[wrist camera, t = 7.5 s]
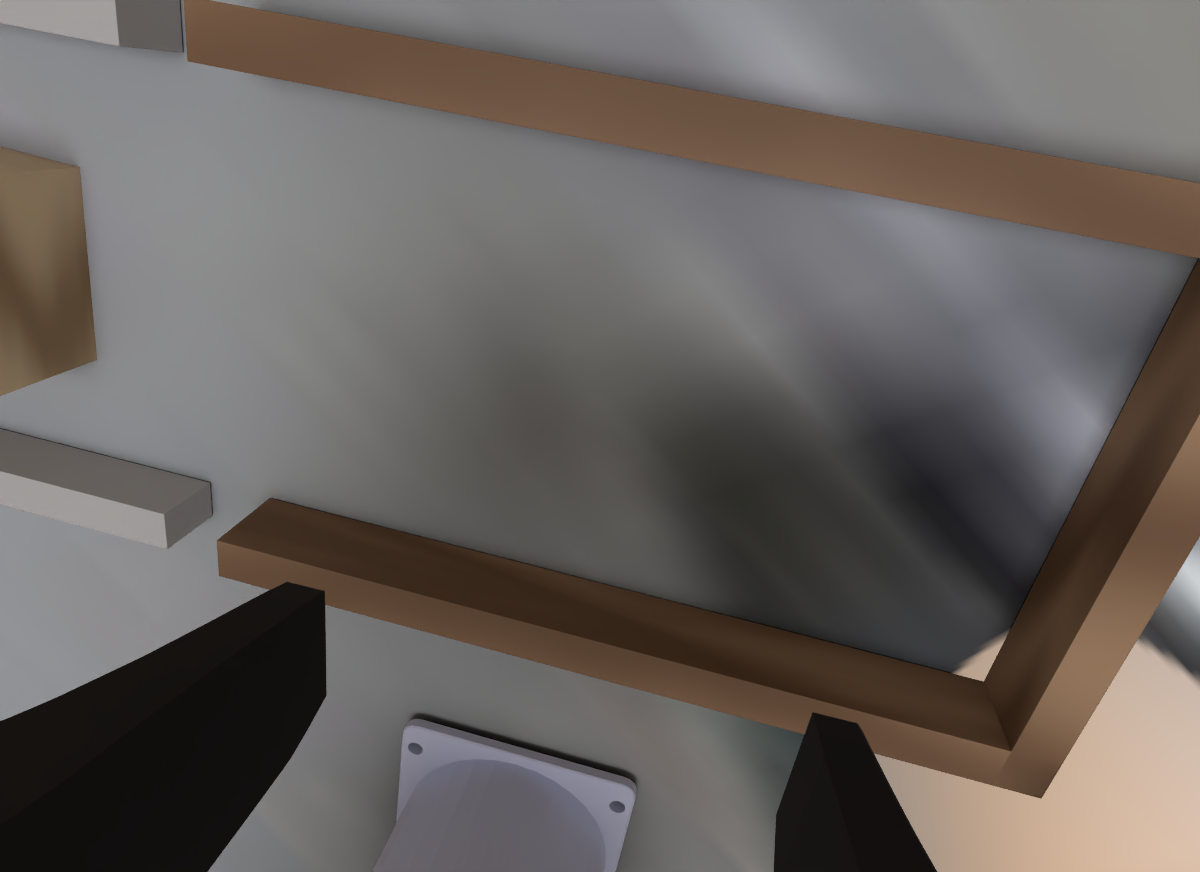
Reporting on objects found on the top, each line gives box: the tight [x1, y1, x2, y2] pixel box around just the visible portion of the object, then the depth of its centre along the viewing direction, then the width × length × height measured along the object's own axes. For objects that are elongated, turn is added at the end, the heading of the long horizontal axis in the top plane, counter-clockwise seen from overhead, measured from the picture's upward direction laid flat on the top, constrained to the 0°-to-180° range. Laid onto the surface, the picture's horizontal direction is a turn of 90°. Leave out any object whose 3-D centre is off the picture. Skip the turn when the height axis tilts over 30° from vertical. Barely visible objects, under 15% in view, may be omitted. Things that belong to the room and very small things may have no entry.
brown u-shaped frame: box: [184, 0, 1200, 798], centre depth 18 cm, size 14×23×2 cm, turn 81°
